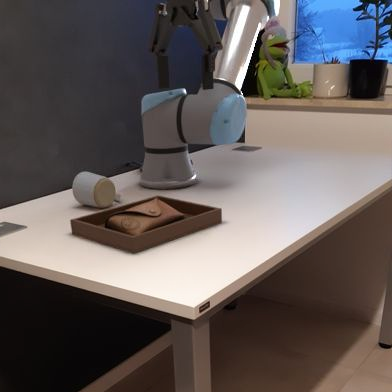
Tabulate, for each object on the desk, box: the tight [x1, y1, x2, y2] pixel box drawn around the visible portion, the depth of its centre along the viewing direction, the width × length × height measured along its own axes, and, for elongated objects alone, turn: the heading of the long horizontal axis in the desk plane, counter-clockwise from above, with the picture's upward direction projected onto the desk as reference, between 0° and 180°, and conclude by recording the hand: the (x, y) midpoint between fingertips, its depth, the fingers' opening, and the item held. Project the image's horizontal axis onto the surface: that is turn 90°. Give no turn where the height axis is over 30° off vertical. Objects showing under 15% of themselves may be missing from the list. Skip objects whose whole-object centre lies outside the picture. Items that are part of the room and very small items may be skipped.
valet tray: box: [69, 195, 223, 254], centre depth 112 cm, size 20×25×3 cm
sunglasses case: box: [105, 197, 186, 236], centre depth 112 cm, size 18×7×7 cm
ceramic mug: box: [71, 171, 121, 209], centre depth 129 cm, size 11×8×8 cm
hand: (185, 88), depth 120 cm, fingers open, 13 cm apart
